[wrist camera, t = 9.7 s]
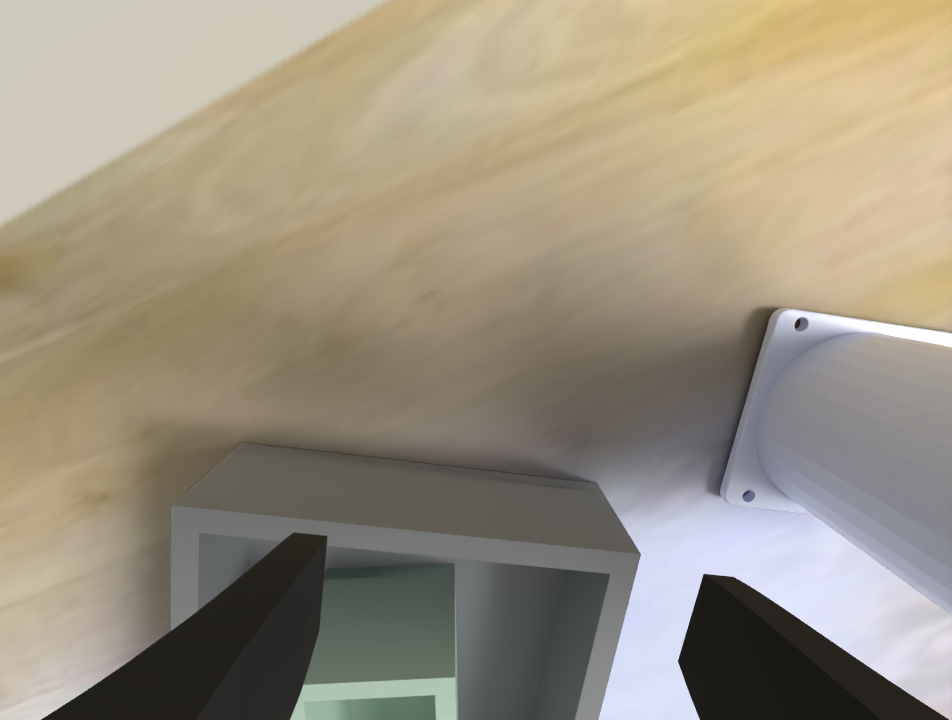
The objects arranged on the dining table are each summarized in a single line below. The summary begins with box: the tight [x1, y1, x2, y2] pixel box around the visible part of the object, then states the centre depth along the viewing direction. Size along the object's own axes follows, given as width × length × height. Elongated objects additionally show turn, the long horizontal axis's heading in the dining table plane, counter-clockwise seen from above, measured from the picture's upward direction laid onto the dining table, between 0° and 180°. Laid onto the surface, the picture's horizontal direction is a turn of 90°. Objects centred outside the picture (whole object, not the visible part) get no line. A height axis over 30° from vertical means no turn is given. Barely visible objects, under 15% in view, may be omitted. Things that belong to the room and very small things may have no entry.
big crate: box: [170, 442, 641, 720], centre depth 18 cm, size 14×18×4 cm
